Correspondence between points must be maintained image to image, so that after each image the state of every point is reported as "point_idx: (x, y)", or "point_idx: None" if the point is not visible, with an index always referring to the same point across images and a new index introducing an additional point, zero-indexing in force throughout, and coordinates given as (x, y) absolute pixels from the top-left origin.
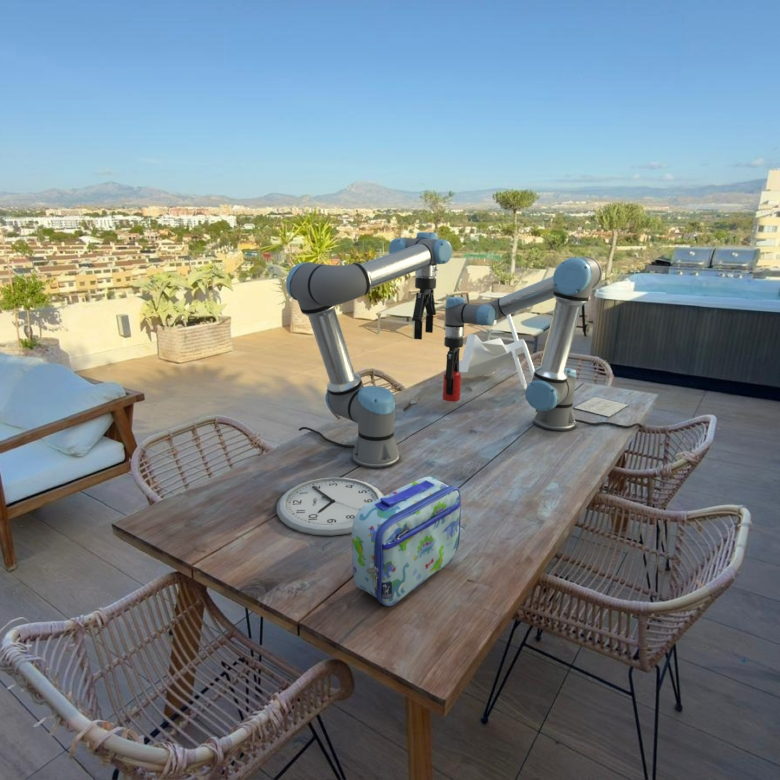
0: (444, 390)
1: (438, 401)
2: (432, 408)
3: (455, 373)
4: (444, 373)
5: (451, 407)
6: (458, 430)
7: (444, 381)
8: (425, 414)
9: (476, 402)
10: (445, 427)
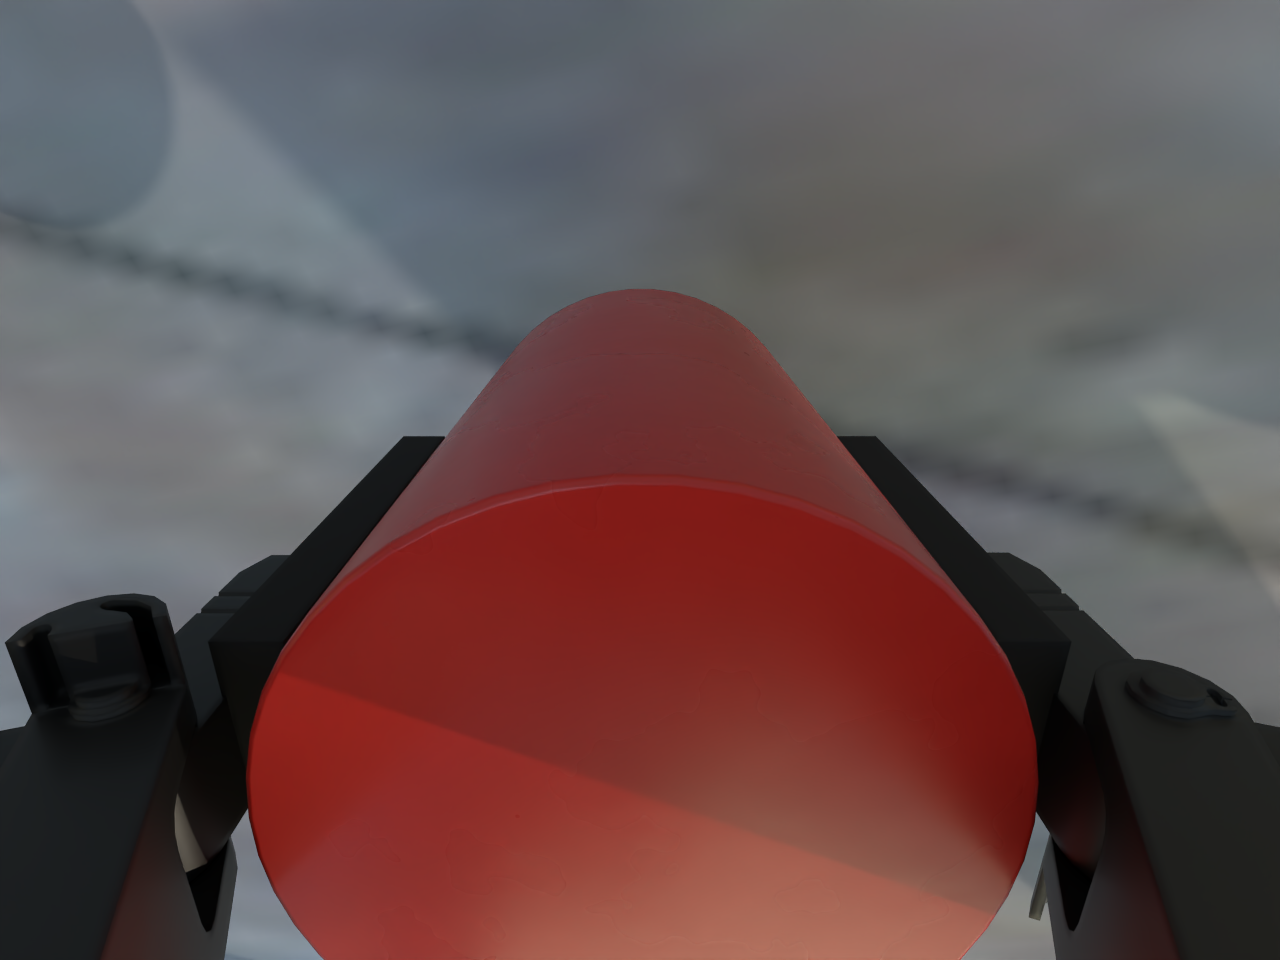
0: (480, 393)
1: (1083, 86)
2: (698, 79)
3: (693, 933)
4: (506, 542)
5: (833, 356)
6: (75, 592)
7: (426, 463)
8: (376, 42)
9: (1117, 612)
10: (65, 446)
